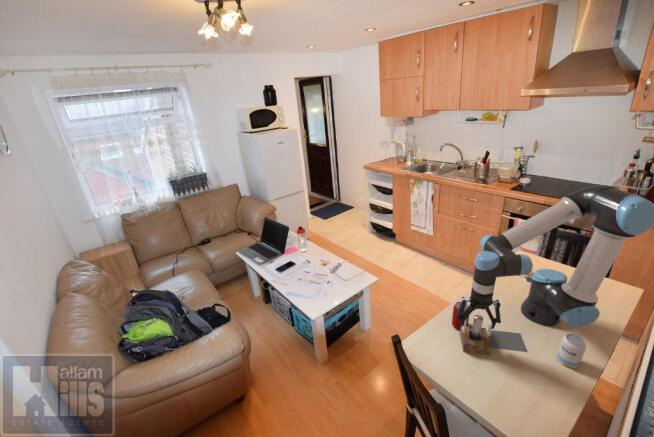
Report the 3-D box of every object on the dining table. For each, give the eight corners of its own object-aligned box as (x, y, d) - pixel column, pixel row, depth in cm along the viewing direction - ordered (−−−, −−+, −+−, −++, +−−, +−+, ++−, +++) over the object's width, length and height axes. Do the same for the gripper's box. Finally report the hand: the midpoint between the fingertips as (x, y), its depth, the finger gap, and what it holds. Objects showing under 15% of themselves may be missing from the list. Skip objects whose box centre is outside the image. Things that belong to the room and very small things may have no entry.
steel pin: (478, 347, 125) (483, 320, 119) (470, 346, 126) (475, 320, 120) (477, 341, 128) (482, 315, 122) (469, 340, 129) (473, 314, 123)
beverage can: (469, 332, 133) (472, 311, 128) (453, 330, 135) (455, 310, 130) (465, 321, 139) (468, 301, 134) (450, 320, 141) (452, 300, 136)
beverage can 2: (552, 359, 117) (560, 337, 112) (562, 351, 120) (569, 329, 115) (573, 372, 112) (581, 349, 107) (582, 363, 115) (591, 341, 110)
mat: (520, 333, 130) (520, 333, 130) (527, 352, 121) (527, 352, 121) (484, 329, 133) (484, 329, 133) (489, 347, 125) (489, 347, 125)
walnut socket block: (484, 336, 130) (485, 328, 128) (489, 355, 122) (491, 346, 119) (459, 333, 133) (460, 325, 131) (462, 352, 124) (464, 343, 122)
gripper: (511, 285, 115) (502, 328, 125) (451, 280, 121) (447, 322, 130) (517, 297, 109) (507, 342, 118) (453, 292, 114) (449, 335, 124)
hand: (475, 332), depth 124 cm, fingers open, 9 cm apart
